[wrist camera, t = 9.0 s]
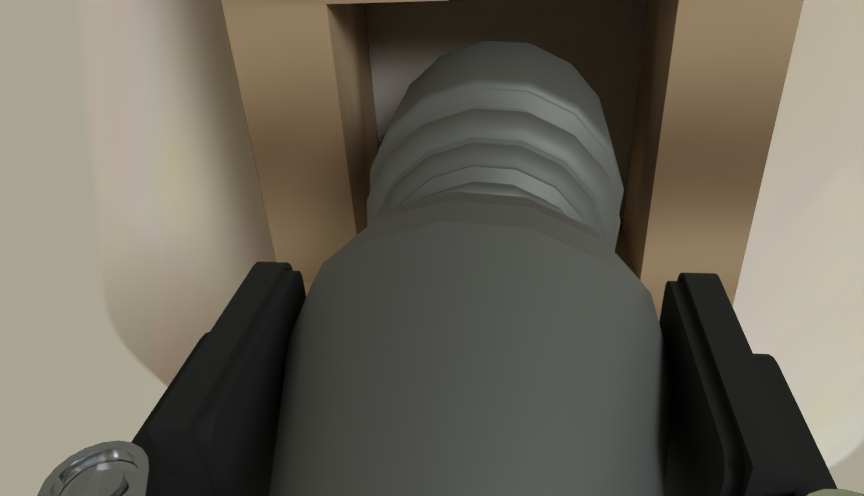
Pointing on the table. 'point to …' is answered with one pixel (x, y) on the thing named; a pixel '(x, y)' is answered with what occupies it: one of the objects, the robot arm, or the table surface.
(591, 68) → the table surface
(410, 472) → the candle holder
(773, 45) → the holder board
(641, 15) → the table surface
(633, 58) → the table surface
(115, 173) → the table surface
